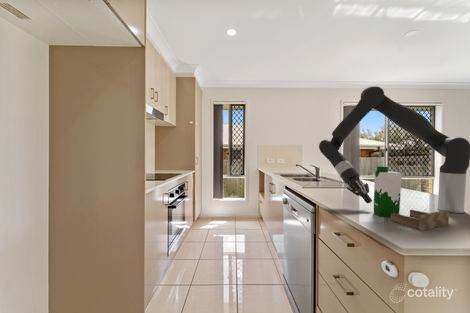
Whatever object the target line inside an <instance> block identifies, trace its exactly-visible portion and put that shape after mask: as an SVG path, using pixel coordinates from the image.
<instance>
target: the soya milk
mask: <svg viewBox="0 0 470 313" xmlns="http://www.w3.org/2000/svg"><path fill="white" fill-rule="evenodd" d="M373 174H374V185H373V186H374V189H373V191H374V192H373V213H375V215H377V216H379V218H380V217H383V218H384V217H385V218H391V213H396V214H400V210H401V209H400V208H401V191H402V187H401V185H402V177H403V173H401V172H396V171H389V167H388V166H376V170H374V173H373Z"/></svg>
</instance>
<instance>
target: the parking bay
mask: <svg viewBox="0 0 470 313" xmlns="http://www.w3.org/2000/svg"><path fill="white" fill-rule="evenodd" d="M449 217H450V212H449V211H448V210H443V211H442V210H438V211H434V212H425V211H421V210H415V209H411V208H410V209H409V216H408V215H404V214H400V213H399V214H396V213H391V217H390V222H393V223H394V222H395V223H396V224H401V225H404V224H405V225H406V226H409V227H413V228H416V229H418V230H419V231H422V232H424V231H428V230H431V229H435V228H439V227H443V226H446V225H449ZM405 225H404V226H405Z"/></svg>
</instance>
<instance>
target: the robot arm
mask: <svg viewBox="0 0 470 313" xmlns="http://www.w3.org/2000/svg"><path fill="white" fill-rule="evenodd" d="M372 110H375V111H377V112H379V113H380V114H382V115H383V116H385V117H386V118H387V119H388V120H390V121H391V122H392V123H394V124H395V125H396V126H397V127H400V129H403V130H404V131H405V132H407V133H408V134H411V135H412V136H413V137H415V138H417V139H418V140H420V141H421V142H424V143H426V144H427V145H428V146H429V147H431V149H432V150H434V151H435V152H436V153H438V154H439V155H440V156H442V157H444V162H443V164H442V165H440V166H439V173H438V174H439V176H438V192H437V193H438V194H437V209H438V211H443V210H448V211H449V213H458V214H462V213H465V207H466V206H465V202H466V187H467V186H466V183H467V172H468V169H469V167H470V141H468V140H467V139H466V138H464V137H458V136H456V137H451V136H448V135H445V134H444V133H442V132H440V131H439V130H438V129H436V128H435V127H434V125H432V124H431V122H430V120H428V119H427V118H426V117H425V115H423V114H421V113H419V112H418V111H416V110H414V109H412V108H411V107H408V106H407V105H403V104H401V103H399V102H396V101H395V100H392V99H391V98H390V97H388V96H387V95H385V90H384V89H383V88H382V87H381V86H378V85H373V86H369V87H365V88H364V89H363V90H362V92H361V93H360V99H359V101H358V102H357V104H356V105H355V107H354V108H353V109H352V110H351V111H350V112H349V114H347V115H346V116H345V117H344V118H343V119H342V120H341V121H340V123H338V124H337V126H336V127H335V128H334V130H333V131H332V133H331V135H332V137H331V140H329V139H323V140H321V141H320V142H319V143H318V149H319V151H320V153H322V155H323V156H324V157H325V159H327V160H328V161H329V162H330V163H331V165H332V167H333V168H334V169H335V171H336V173H337V174H338V176H339V177H340V179H341V181H343V182H344V184H346V185H348V186H347V187H346V189H347V191H350V192H351V193H353V194H354V195H356V196H357V197H361V198H362V199H363V200H364V202H365V203H366V204H371V203H372V202H373V200H372V198H371V197H370V195H369V193H370V186H369V183H368V182H366V183H364V182H363V180H362V179H361V178H360V174H359V172H358V171H357V169H356V168H355V167H354V166H353V165H352V164H351V162H349V161H348V159H347V158H346V157H345V155H344V154H343V153H341V152H340V149H341V147H342V145H343V143H344V141H345V140H346V139H347V138H348V136H350V135H351V133H352V132H353V130H354V129H355V128H356V127H357V126H358V124H360V122H361V121H362V120H363V119H364V118H365V117H366V116H367V115H368V114H369V113H370V112H371V111H372Z"/></svg>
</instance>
